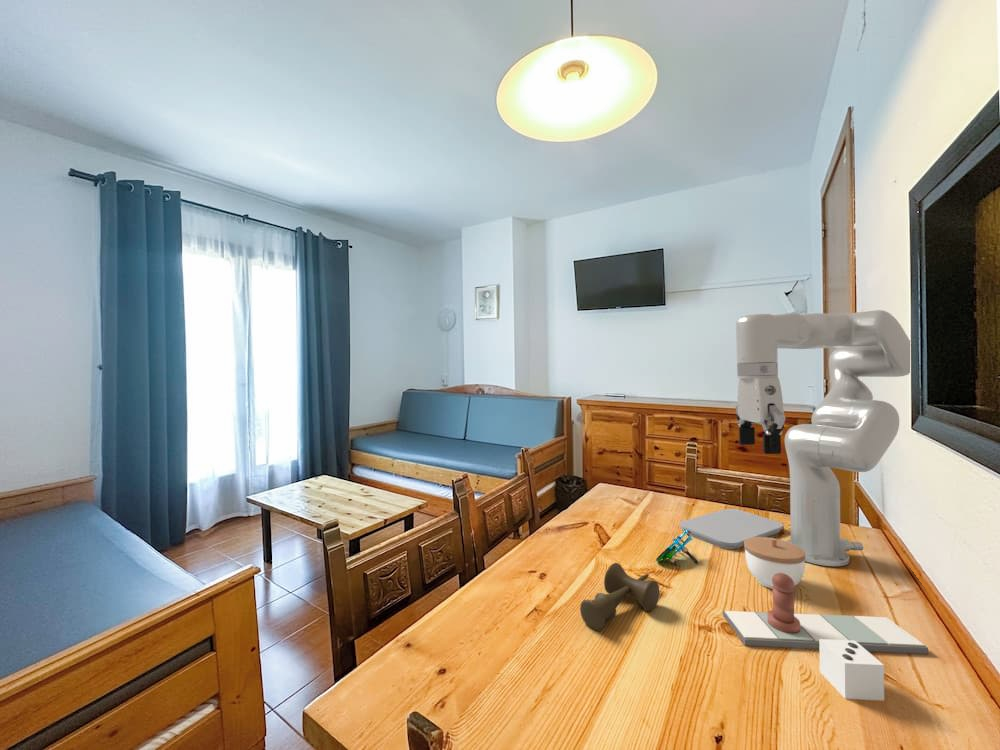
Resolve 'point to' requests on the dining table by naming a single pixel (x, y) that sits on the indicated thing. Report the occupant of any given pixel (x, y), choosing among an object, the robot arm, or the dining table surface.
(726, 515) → the tablet
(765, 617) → the track board
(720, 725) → the dining table surface
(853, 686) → the die
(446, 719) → the dining table surface
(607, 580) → the kendama
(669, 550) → the stick construction toy
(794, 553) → the lidded jar
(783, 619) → the pawn
